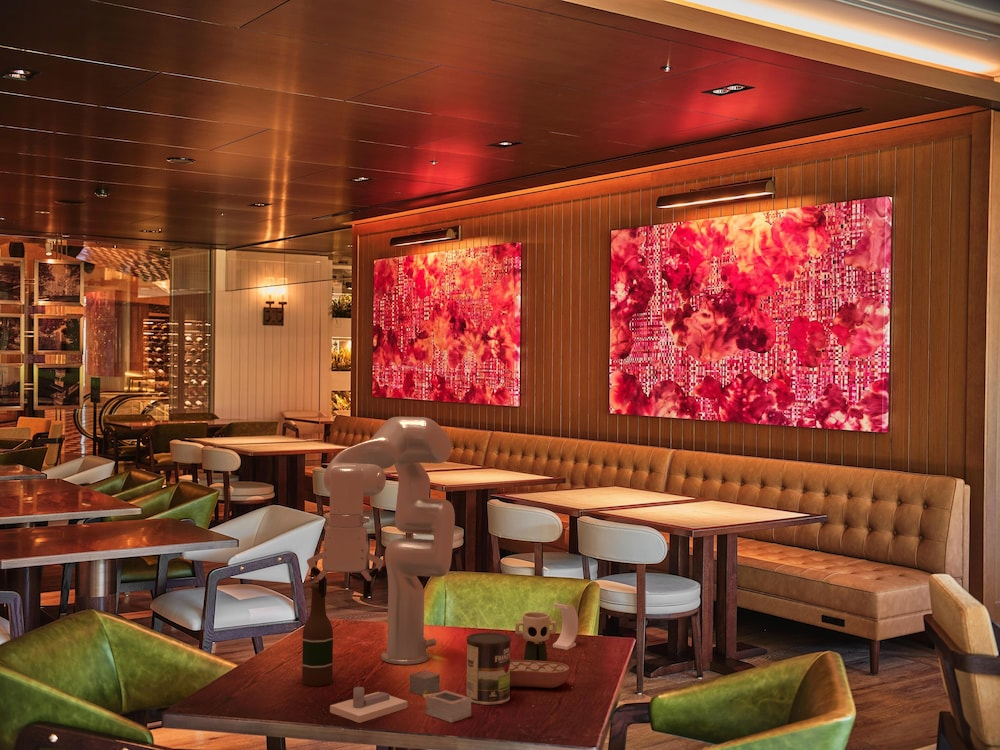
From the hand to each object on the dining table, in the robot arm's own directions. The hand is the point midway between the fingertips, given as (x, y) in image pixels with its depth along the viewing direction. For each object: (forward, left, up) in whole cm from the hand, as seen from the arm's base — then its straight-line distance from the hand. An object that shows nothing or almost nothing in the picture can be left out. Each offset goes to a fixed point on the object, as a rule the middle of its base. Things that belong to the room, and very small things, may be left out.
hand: (344, 597), depth 232 cm
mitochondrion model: (-40, +19, -25) cm, 50 cm away
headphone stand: (-76, +4, -25) cm, 80 cm away
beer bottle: (-7, -18, -25) cm, 31 cm away
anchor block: (-20, +6, -24) cm, 32 cm away
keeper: (-2, +7, -24) cm, 25 cm away
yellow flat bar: (-16, +13, -24) cm, 32 cm away
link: (-12, +22, -24) cm, 35 cm away
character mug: (-56, +10, -25) cm, 62 cm away
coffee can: (-27, +20, -25) cm, 41 cm away
